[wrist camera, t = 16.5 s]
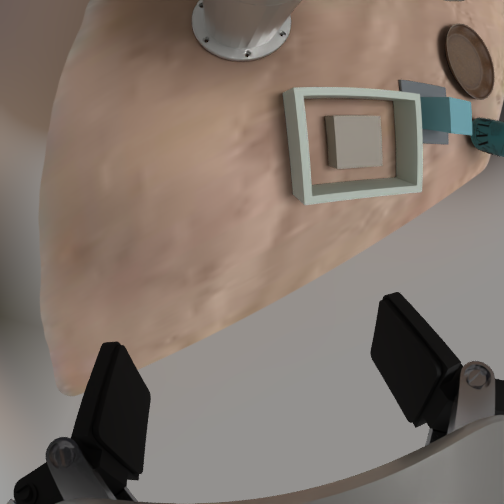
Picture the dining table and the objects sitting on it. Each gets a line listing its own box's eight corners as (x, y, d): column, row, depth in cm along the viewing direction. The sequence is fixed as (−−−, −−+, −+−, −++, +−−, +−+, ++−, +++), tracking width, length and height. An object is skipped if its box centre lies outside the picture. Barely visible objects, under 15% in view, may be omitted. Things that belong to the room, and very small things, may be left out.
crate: (282, 92, 33) (293, 87, 28) (397, 95, 34) (419, 94, 29) (292, 194, 39) (304, 205, 34) (400, 183, 40) (421, 192, 35)
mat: (398, 79, 33) (400, 79, 32) (442, 87, 34) (445, 87, 33) (403, 142, 37) (405, 142, 37) (446, 143, 38) (448, 144, 37)
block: (414, 97, 34) (449, 97, 26) (436, 100, 34) (470, 102, 27) (416, 128, 36) (451, 133, 29) (438, 129, 36) (472, 135, 29)
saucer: (493, 83, 33) (502, 84, 31) (461, 111, 36) (471, 112, 33) (462, 18, 27) (471, 16, 25) (423, 36, 30) (433, 34, 27)
